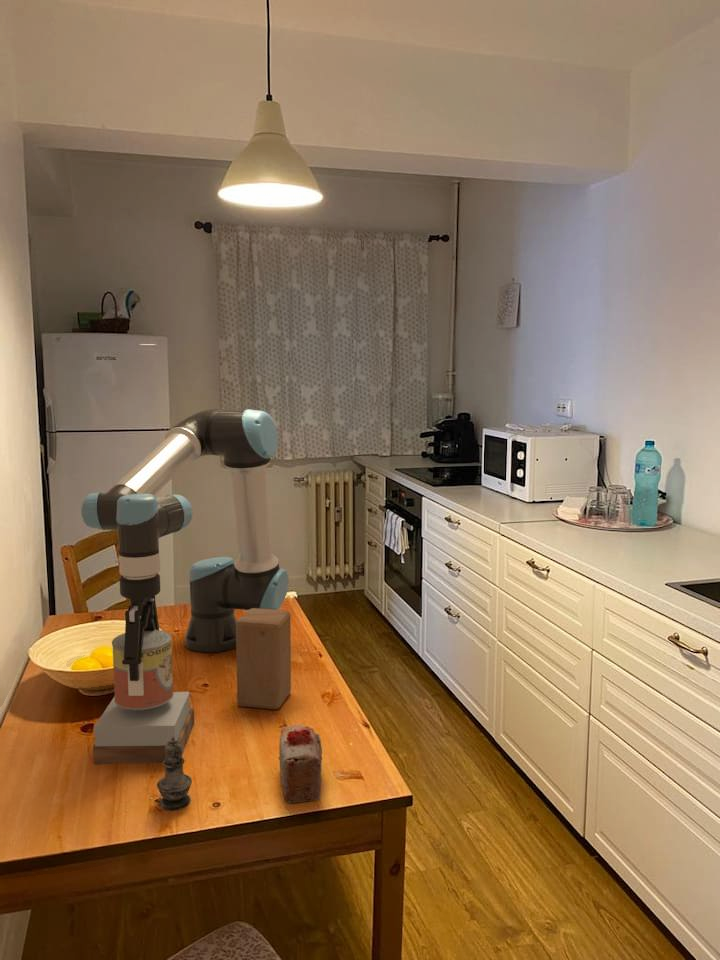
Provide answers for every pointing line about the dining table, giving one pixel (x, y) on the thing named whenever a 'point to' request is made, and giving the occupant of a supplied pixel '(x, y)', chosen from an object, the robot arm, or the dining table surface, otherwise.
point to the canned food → (145, 672)
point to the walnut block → (140, 749)
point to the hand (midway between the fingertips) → (143, 682)
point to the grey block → (143, 723)
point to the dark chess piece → (174, 779)
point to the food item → (300, 763)
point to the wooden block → (263, 658)
